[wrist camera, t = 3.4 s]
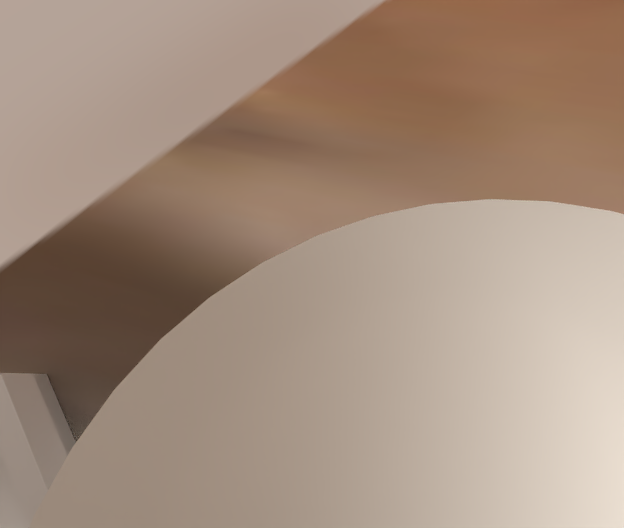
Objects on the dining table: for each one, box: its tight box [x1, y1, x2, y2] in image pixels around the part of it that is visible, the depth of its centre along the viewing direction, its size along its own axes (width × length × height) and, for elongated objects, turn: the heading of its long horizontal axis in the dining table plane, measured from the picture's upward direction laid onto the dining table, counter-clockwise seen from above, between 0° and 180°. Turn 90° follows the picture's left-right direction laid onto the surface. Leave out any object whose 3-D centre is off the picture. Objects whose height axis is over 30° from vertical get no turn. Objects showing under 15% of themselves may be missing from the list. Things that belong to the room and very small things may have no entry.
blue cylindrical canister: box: [29, 199, 624, 528], centre depth 9 cm, size 6×6×14 cm
